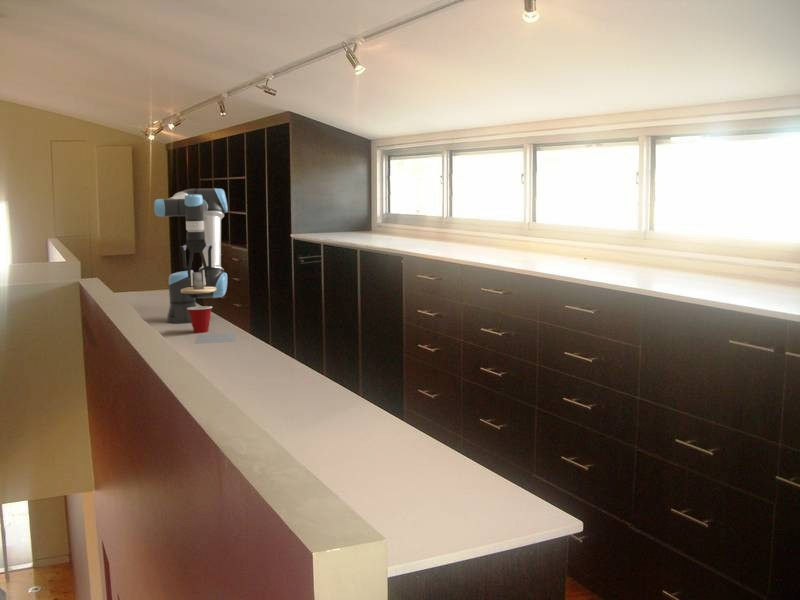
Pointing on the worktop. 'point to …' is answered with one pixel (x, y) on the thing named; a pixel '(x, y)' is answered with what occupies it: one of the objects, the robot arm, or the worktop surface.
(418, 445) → the worktop surface
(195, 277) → the lid
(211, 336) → the mat
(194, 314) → the plastic cup
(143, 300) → the worktop surface
